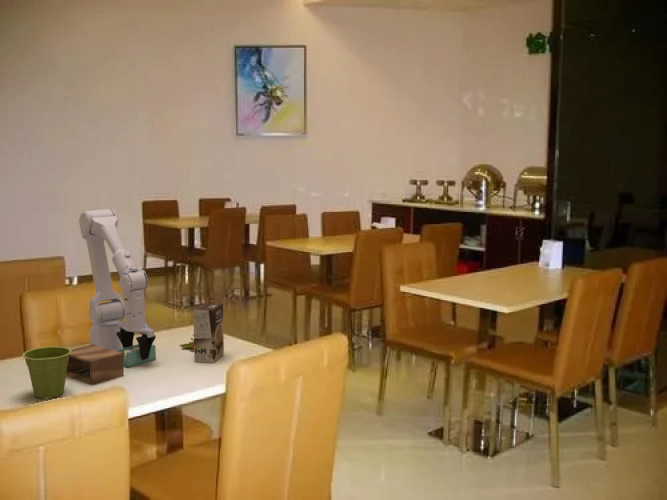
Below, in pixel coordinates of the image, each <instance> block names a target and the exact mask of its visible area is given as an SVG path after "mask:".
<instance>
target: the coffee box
mask: <svg viewBox="0 0 667 500" xmlns="http://www.w3.org/2000/svg"><path fill="white" fill-rule="evenodd" d="M193 335H194V336H193V341H194V348H193V349H194V351H193V352H194V356H193V359H194V362H197V363H206V364H207V363H209V364H214V363H215V362H216V361H218V360H219V359H220V358H222V357H223V356H222V355H223V354H225V346H224V344H225V343H224V341H225V340H224V339H225V338H224V337H225V336H224V304H223V303H212V302H211V303H206V302H205V303H204V302H203V304H201V305H199V306H197V307H195V308H194V309H193Z"/></svg>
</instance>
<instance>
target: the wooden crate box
mask: <svg viewBox="0 0 667 500" xmlns="http://www.w3.org/2000/svg"><path fill="white" fill-rule="evenodd" d="M71 351H72V352H71V353H70V354H69V361H68V363H67V371H66V377H69V378H72V379H75V380H77V381H80V382H82V383H87V384H89V385H92V386H96V385H99V384H101V383H104V382H108V381H110V380H114V379H117V378H120V377H121V378H122V377H123V376H125V375H124V374H125V370H124V368H125V367H123V353H122V352H118V351H115V350H111V349H108V348H104V347H101V346H97V345H94V344H91V343H90V344H88V345H84V346H80V347H77V348H72V349H71ZM86 370H89V373H90V374H89V376H90V377H88V376H85V375H82V374H79V372H82V371H86Z"/></svg>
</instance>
